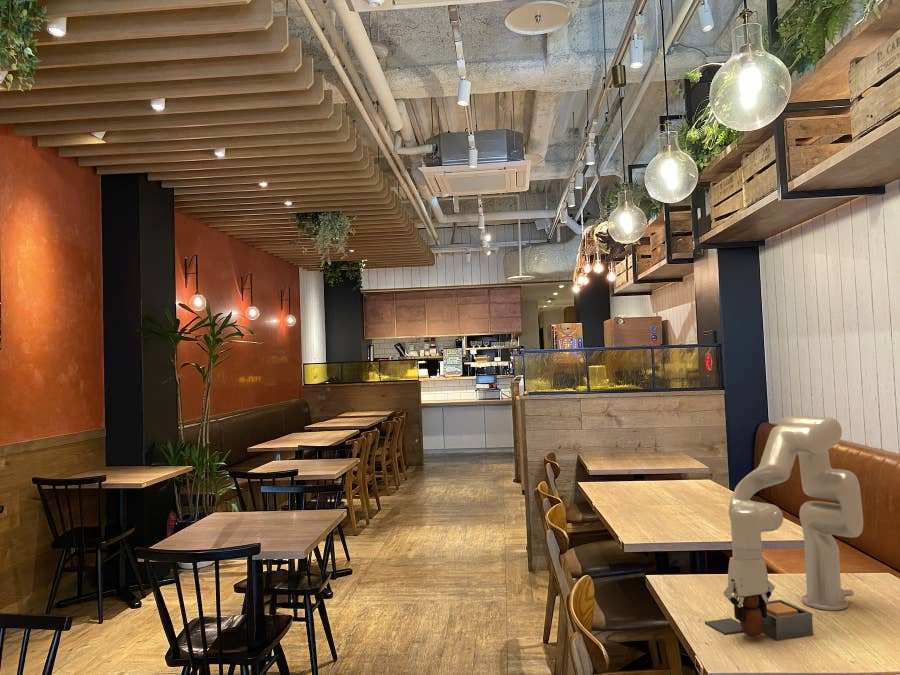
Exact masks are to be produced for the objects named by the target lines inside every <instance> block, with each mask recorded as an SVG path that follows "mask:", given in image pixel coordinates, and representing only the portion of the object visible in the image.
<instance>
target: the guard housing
mask: <svg viewBox="0 0 900 675" xmlns="http://www.w3.org/2000/svg"><path fill="white" fill-rule="evenodd" d="M778 602H780V603H783V604H785V605H787V606H789V607H792V608H794V609H796V610H798V614H792V615H785V616H778V617H776V616H774V615H771V614H769V613H767V618H763V629H762V633H761V634H762V635H764V636H767V637H769V638H770V639H772V640H775V641H776V642H779V641H785V640H792V639H796V638H797V639H798V638H803V637H810V636H814V626H813V625H814V623H813V613H812V612H810V611H807V610H806V609H803V608H801V607H799V606H796V605H794V604H792V603H790V602H788V601H785V600H782V599H776V600H770V601H769V600H768V603H766V604H771V603H778Z"/></svg>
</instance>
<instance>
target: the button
mask: <svg viewBox="0 0 900 675" xmlns="http://www.w3.org/2000/svg"><path fill="white" fill-rule="evenodd" d="M766 606H767V613H769V614H771V615H774V616H776V617H778V616H785V615H792V614H798V610H796V609H794V608H792V607H789V606H787V605H785V604H783V603H780V602H778V603H771V604H766Z"/></svg>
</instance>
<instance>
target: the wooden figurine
mask: <svg viewBox="0 0 900 675" xmlns="http://www.w3.org/2000/svg"><path fill="white" fill-rule="evenodd" d="M758 606H759V598H758V595H752V596H748V597H744V600H743V604H742V607H744V618H745V621H744V622H741V621H739V622H740V624H741V627H742V630H743V632H742V633H744V635H746V636H749V637H754V638H756V637H759V636H761V634H763V633H762V629H763V616H762V613H761V610H760V609H759V608H758Z"/></svg>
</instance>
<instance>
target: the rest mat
mask: <svg viewBox="0 0 900 675" xmlns="http://www.w3.org/2000/svg"><path fill="white" fill-rule="evenodd" d="M704 625H706V626H707V627H709V628H711V627H712V628H711V629H713V628H714V629H713V630H715V631H717V632H718V631H719V633H720V632H721V633H720V634H722V633H723V634H722V635H723V636H728V634H729V635H735V634H740V633H741V634H742V633H744V632H743V630H742V627H741V624H740V621H739V620H738V621H737V619H735V618H732V617H730V618H723V619H722V618H721V619H715V620H709V621H707V620H706V621H704Z"/></svg>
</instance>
